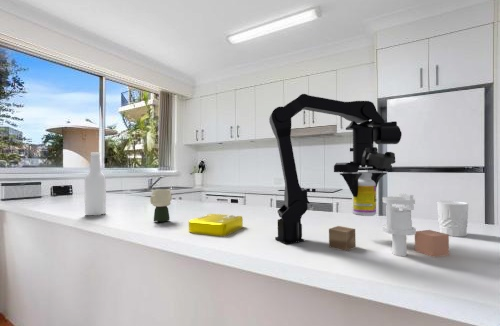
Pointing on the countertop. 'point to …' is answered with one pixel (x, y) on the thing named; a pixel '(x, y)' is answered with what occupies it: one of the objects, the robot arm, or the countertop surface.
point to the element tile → (216, 224)
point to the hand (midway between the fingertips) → (363, 196)
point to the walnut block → (342, 238)
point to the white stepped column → (399, 221)
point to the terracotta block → (432, 243)
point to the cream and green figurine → (161, 204)
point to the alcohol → (95, 187)
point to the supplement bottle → (365, 196)
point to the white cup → (453, 217)
